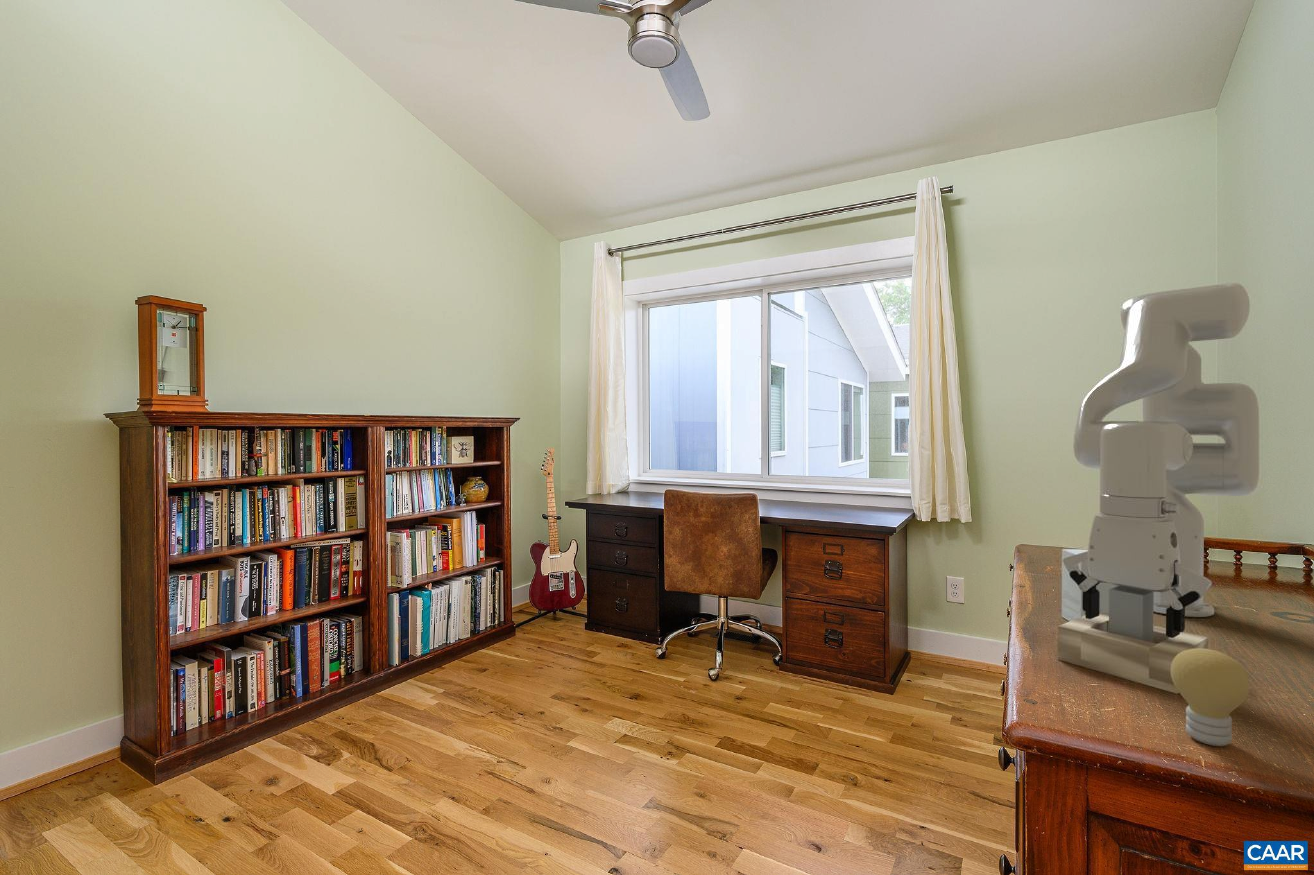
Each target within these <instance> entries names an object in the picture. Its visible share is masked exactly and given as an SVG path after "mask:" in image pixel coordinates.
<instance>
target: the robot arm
mask: <svg viewBox="0 0 1314 875" xmlns="http://www.w3.org/2000/svg"><path fill="white" fill-rule="evenodd" d="M1250 303H1251V302H1250V297H1249V294H1248V292H1247V290H1246V289H1245V287H1244V286H1243V285H1241V284H1240V283H1236V282H1230V283H1222V284H1221V283H1220V284H1213V285H1205V286H1197V287H1190V288H1181V289H1172V290H1164V291H1157V292H1151V293H1146V294H1142V295H1139V296H1135V297H1132V298H1130V299H1128V300H1126V301H1125V302H1124V303H1123V305H1122V306H1121V309H1120V320H1121V324H1122V327H1123V329H1124V333H1123V342H1122V348H1121V354H1120V361H1119V367H1118V368H1117V369H1116V370H1115V371H1113V372H1111V373H1110V374H1108V375H1107V376H1106V377H1104V378H1103V379H1102V380H1101V381H1100V382H1098V383H1097V384H1096V385H1095V386H1094V387H1093V388H1091V390H1090V391H1089V392H1088V393H1087V394H1086V396H1085V397H1084V398H1083V400H1082V402H1081V403H1080V406H1079V409H1078V414H1077V419H1076V424H1075V429H1074V434H1073V454H1074V456H1075V459H1076V461H1077V462H1078V463H1080V464H1081V465H1082V466H1084V467H1086V468H1087V467H1088V468H1091V469H1099V474H1100V475H1099V513H1096V514H1094V515H1093V516H1094V517H1093V521H1092V524H1091V528H1090V533H1089V538H1088V544H1087V545H1088V547H1087V550H1088V551H1087V552H1083V553H1080V554H1077V555H1073V556H1070V557H1067V558H1064V559H1063V563H1064V565H1065V567H1066V568H1067V570H1068V571H1069V575H1070V577H1071V578H1072V579H1073V580H1074V581H1075V583H1076V584H1077V585H1078V586H1079V589H1080V590H1081V591H1083V596H1082V609H1083V611H1085V617H1086V618H1087V619H1092V618H1095V617H1097V616H1099V609H1100V592H1099V591H1098V590H1097V589H1096V586H1098V585H1099V584H1100V583H1101V582H1103V583H1108V584H1113V585H1118V586H1124V587H1129V588H1135V589H1141V590H1146V591H1152V592H1154V612H1153V613H1159V614H1165V628H1166V636H1168V637H1170V638H1174V637H1176V636H1178V635H1179V634H1180V632H1185V628H1186V618H1187V617H1189V618H1206V617H1211V616H1213V615H1215V607H1214V606H1212V605H1211V604H1209V603H1207V602H1204V595H1205V593H1206V592H1207V591H1208V590H1209V589H1210V587H1211V586H1212V584H1213V582H1212V580H1211V579H1209V578H1207V577H1206V576H1204V543H1205V542H1204V541H1205V538H1204V537H1205V536H1204V535H1205V534H1204V533H1205V520H1204V517H1203V515H1202V513H1201V511H1200V510H1199V508H1197V506H1195V504H1194V503H1192V502H1191V501H1190V500H1189V499H1188V498H1187V497H1186V495H1209V496H1228V497H1231V496H1232V497H1240V496H1248V495H1250V494H1252V493H1253V492H1254V491H1255V490H1256V488H1257V487H1258V483H1259V478H1260V477H1259V475H1260V415H1259V413H1260V411H1259V410H1260V409H1259V402H1258V398H1257V396H1256V393H1255V391H1254V390H1253V389H1252V387H1251V386H1249V385H1246V384H1243V383H1241V382H1240V383H1238V382H1237V383H1236V382H1218V383H1217V382H1216V383H1215V382H1214V383H1204V382H1203V380H1202V358H1201V355H1200V353H1199V352H1198V351H1197V349H1196V348H1194V347H1193V346H1192V344H1190V343H1192V342H1201V341H1203V342H1205V341H1214V340H1215V341H1216V340H1225V339H1232V338H1235V337H1236V336H1238V335H1239V334H1240V332H1242V330H1243V328H1244V327H1245V325H1246V323H1247V321H1248V318H1249V315H1250V306H1251V305H1250ZM1139 400H1142V418H1143V421H1141V420H1139V421H1138V420H1133V421H1132V420H1131V421H1130V420H1124V421H1123V420H1121V421H1120V420H1115V421H1111V420H1110V421H1108V420H1107V421H1104V418H1105V417H1107V416H1108V415H1109V414H1110V413H1111V412H1113V411H1114V410H1117V409H1118V408H1121V407H1122V406H1125V405H1127V404H1130V403H1133V402H1135V401H1139ZM1193 436H1214V437H1215V436H1216V437H1220V438H1221V439H1222V440H1224V442H1194V441H1193V438H1192V437H1193ZM1086 560H1087V572H1088V575H1089V577H1088V578H1087V577H1086V576H1085V575H1084V574H1083V573H1082V571H1080V569H1079V567H1078V563H1080V562H1083V561H1086Z"/></svg>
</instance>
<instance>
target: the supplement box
mask: <svg viewBox="0 0 1314 875" xmlns="http://www.w3.org/2000/svg"><path fill="white" fill-rule="evenodd" d="M1087 551H1088V549H1080V548H1079V549H1075V548H1073V549H1072V548H1070V549H1069V548H1068V549H1067V548H1062V550H1061V555H1062V556H1061V617H1062V618H1063V619H1065V621H1067V622H1070V621H1072V620H1075V619H1077V618H1080V617H1082V616H1085V611H1083V609H1082V596H1083V591H1081V590H1080V589H1079V586H1078V585H1077V584H1076V583H1075V581H1074V580H1073V579H1072V578H1071V577H1070V575H1069V571H1068V570H1067V568H1066V567H1065V565H1064V563H1063V559H1064V558H1067V557H1070V556H1073V555H1077V554H1080V553H1083V552H1087ZM1078 567H1079V569H1080V571H1082V573H1083V574H1084V575H1085V576H1086V577H1087V578H1088V577H1089V575H1088V572H1087V560H1086V561H1083V562H1080V563H1078ZM1117 586H1118V585H1113V584H1108V583H1103V582H1101V583H1100V584H1099V585H1098V586H1096V589H1097V590H1098V591H1099V592H1100V609H1099V614H1103V615H1108V616H1109V589H1111V588H1114V587H1117Z"/></svg>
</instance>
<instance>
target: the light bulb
mask: <svg viewBox="0 0 1314 875" xmlns="http://www.w3.org/2000/svg"><path fill="white" fill-rule="evenodd" d="M1171 677H1172V680H1173V683H1174V685H1175V687H1176V688H1177V690H1178V691H1179V694H1180V696H1182V698H1183V699H1184V700H1185V702H1186V703H1187V704H1188V705H1187V706H1186V708H1185V714H1186V717H1185V732H1187V734H1188V735H1189V736H1190V737H1191V738H1193V740H1195V741H1198V742H1199V743H1203V744H1205V745H1208V746H1214V747H1215V746H1216V747H1226V746H1227V745H1229V744H1231V743H1232V742H1233V741H1232V740H1233V739H1232V738H1233V737H1232V733H1233V732H1232V731H1233V730H1232V724H1233V718H1232V716H1231V715H1230V714H1231V713H1232V712H1233V711H1234V710H1236V709H1237V708H1239V707H1240V706H1241V705H1243V703H1244V702H1245V701H1246V700H1247V698H1248V696H1249V693H1250V690H1251V689H1250V688H1251V684H1250V678H1249V676H1248V673H1247V671H1246V669H1245V668H1244V667H1243V666H1242V664H1240V663H1239V661H1238V660H1236V659H1234V658H1233V657H1232V656H1229V655H1227V654H1225V653H1223V652H1221V651H1217V650H1215V649H1211V648H1210V649H1209V648H1208V649H1203V648H1195V649H1189V650H1185V651H1182V652H1180V653H1179V654H1177V655H1176V657H1175V658H1174V659H1173V661H1172V664H1171Z"/></svg>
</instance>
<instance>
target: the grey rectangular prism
mask: <svg viewBox="0 0 1314 875" xmlns="http://www.w3.org/2000/svg"><path fill="white" fill-rule="evenodd" d="M1154 613H1155V612H1154V592H1152V591H1146V590H1141V589H1135V588H1129V587H1124V586H1117V587H1114V588H1111V589H1109V632H1110V633H1114V634H1118V635H1122V636H1126V637H1131V638H1135V639H1139V640H1143V641H1147V642H1152V643H1153V626H1154Z"/></svg>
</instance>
